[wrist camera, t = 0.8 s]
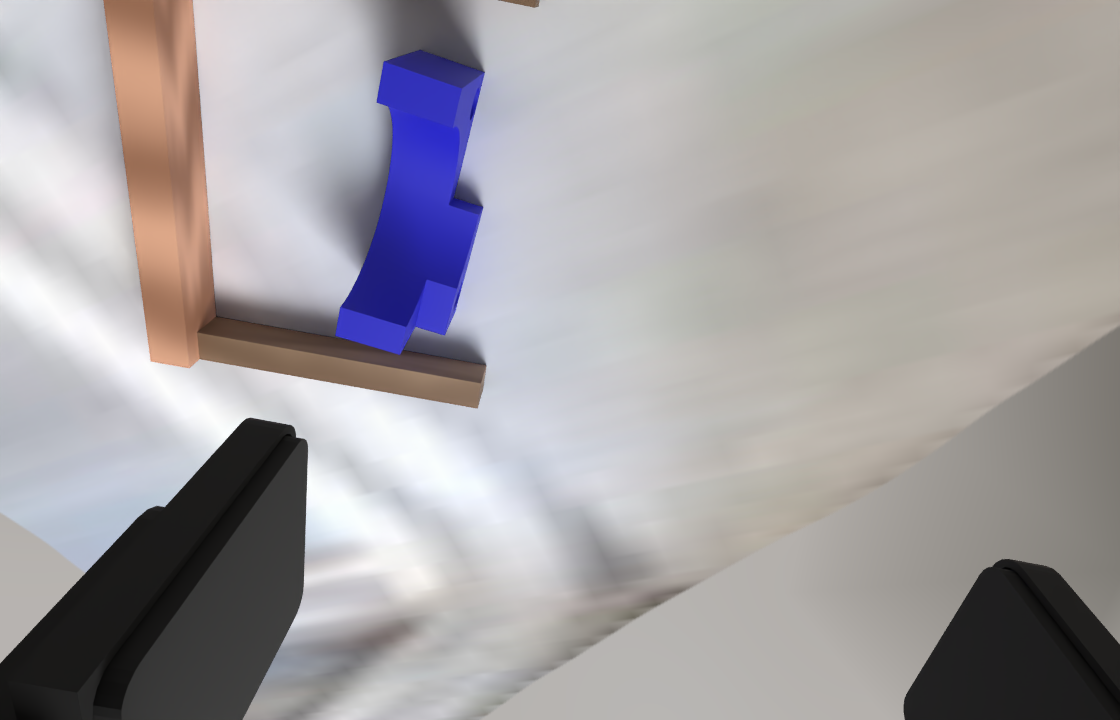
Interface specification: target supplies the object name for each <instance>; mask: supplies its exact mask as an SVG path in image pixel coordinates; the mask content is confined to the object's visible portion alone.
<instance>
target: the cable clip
mask: <svg viewBox="0 0 1120 720" xmlns="http://www.w3.org/2000/svg"><path fill="white" fill-rule="evenodd" d="M484 73H485V72H482V71H479V70H477V69H474V68H471V67H468V66H465V65H462V64H459V63H456V62H454V61H451V60H448V59H445V58H442V57H439V56H436V55H433V54H431V53H428V52H425V51H422V50H418V51H415V52H412V53H409V54H406V55H403V56H400V57H397V58H393V59H390V60H387V61H384V63H383V69H382V75H381V80H380V86H379V92H378V97H377V103H380V104H383V105H386V106H388V107H389V109H390V113H391V117H392V126H393V142H392V155H391V163H390V170H389V176H388V182H387V187H386V192H385V197H384V201H383V205H382V209H381V213H380V217H379V220H378V224H377V227H376V231H375V234H374V237H373V240H372V243H371V246H370V249H369V251H368V254H367V257H366V259H365V262H364V264H363V267H362V269H361V271H360V274H359V276H358V278H357V280H356V282H355V284H354V286H353V288H352V290H351V292H350V293H349V295H348V297H347V298H346V300H345V301H344V303H343V304H342V306H341V307H340V312H339V318H338V323H337V329H336V335H335V336H338V337H341V338H344V339H348V340H351V341H355V342H358V343H361V344H365V345H368V346H371V347H375V348H378V349H381V350H385V351H388V352H391V353H395V354H398V355H400V354H401V352H402V350H403V348H404V347H405V345H406V343H407V341H408V339H409V337H410V336H411V334H412V332H413V330H414V328H415V327H418V328H421V329H425V330H428V331H431V332H435V333H438V334H441V335H445V334H446V331H447V329H448V327H449V325H450V322H451V320H452V318H453V316H454V313H455V311H456V307H457V303H458V299H459V296H460V292H461V288H462V285H463V281H464V277H465V273H466V270H467V266H468V262H469V259H470V255H471V251H472V247H473V244H474V240H475V236H476V233H477V229H478V225H479V221H480V218H481V214H482V210H483V207H481V206H478V205H475V204H472V203H469V202H466V201H463V200H459V199H456V198H454V195H455V191H456V187H457V183H458V179H459V175H460V171H461V167H462V163H463V159H464V155H465V151H466V147H467V142H468V138H469V134H470V130H471V126H472V122H473V118H474V114H475V110H476V106H477V102H478V98H479V94H480V90H481V86H482V81H483V77H484Z"/></svg>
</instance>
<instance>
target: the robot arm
mask: <svg viewBox="0 0 1120 720" xmlns="http://www.w3.org/2000/svg"><path fill="white" fill-rule="evenodd" d="M307 462H308V444H307V441H306V440H305V439H301V438H296V432H295V429H294V427H293V426H291V425H287V424H281V423H276V422H271V421H265V420H260V419H255V418H247V419H245V420H244V421H243V422H242V423H241V424H240V425H239V426H238V427H237V428H236V429H235V431H234V432H233V433H232V434H231V435H230V436H229V437H228V438H227V439H226V440H225V442H224V443H223V444H222V445H221V446H220V447H219V448H218V449H217V450H216V451H215V453H214V454H213V455H212V456H211V457H210V458H209V459H208V460H207V461H206V462H205V464H204V465H203V466H202V467H201V468H200V469H199V470H198V471H197V472H196V474H195V475H194V476H193V477H192V478H191V479H190V480H189V481H188V482H187V483H186V485H185V486H184V487H183V488H182V489H181V490H180V491H179V492H178V493H177V494H176V496H175V497H174V498H173V499H172V500H171V501H170V502H169V503H168V504H167V505H166V507H160V506H155V507H153V508H150V509H148V510H146V511H145V512H144V513H143V514H142V515H141V516H139V517H138V518H137V519H136V520H135V521H134V522H133V523H132V524H131V526H130V527H129V528H128V529H127V530H126V531H125V532H124V533H123V534H122V535H121V536H120V537H119V538H118V539H117V540H116V541H115V542H114V544H113V545H112V546H111V547H110V548H109V549H108V550H107V551H106V552H105V553H104V554H103V555H102V556H101V557H100V558H99V559H98V560H97V562H96V563H95V564H94V565H93V566H92V567H91V568H90V569H89V570H88V571H87V572H86V573H85V574H84V575H83V576H82V578H81V579H80V580H79V581H78V582H77V583H76V584H75V585H74V586H73V587H72V588H71V589H70V590H69V591H68V592H67V594H65V595H64V597H63V598H62V599H61V600H60V601H59V602H58V603H57V604H56V605H55V606H54V607H53V608H52V609H51V610H50V611H49V612H48V613H47V615H46V616H45V617H44V618H43V619H42V620H41V621H40V622H39V623H38V624H37V625H36V626H35V627H34V628H33V629H32V630H31V631H30V633H29V634H28V635H27V636H26V637H25V638H24V639H23V640H22V641H21V642H20V643H19V644H18V645H17V646H16V648H14V649H13V651H12V652H11V653H10V654H9V655H8V656H7V657H6V658H5V659H4V660H3V661H2V662H1V663H0V720H242V719H243V717H244V716H245V714H246V712H247V710H248V708H249V706H250V704H251V702H252V700H253V698H254V696H255V694H256V692H257V690H258V688H259V686H260V684H261V683H262V681H263V679H264V677H265V675H266V673H267V671H268V669H269V667H270V665H271V663H272V661H273V659H274V657H275V655H276V653H277V651H278V649H279V648H280V646H281V644H282V642H283V640H284V638H285V636H286V634H287V632H288V630H289V628H290V626H291V624H292V622H293V620H294V618H295V616H296V614H297V612H298V609H299V606H300V603H301V599H302V594H303V587H304V557H305V525H306V493H307ZM904 717H905V720H1120V644H1119V643H1118V642H1117V641H1116V640H1115V638H1114V637H1113V636H1112V635H1111V634H1110V633H1109V631H1108V630H1107V629H1106V628H1105V627H1104V626H1103V624H1102V623H1101V622H1100V621H1099V620H1098V619H1097V617H1096V616H1095V615H1094V614H1093V613H1092V612H1091V610H1090V609H1089V608H1088V607H1087V606H1086V605H1085V604H1084V602H1083V601H1082V600H1081V599H1080V598H1079V596H1078V595H1077V594H1076V593H1075V592H1074V591H1073V589H1072V588H1071V587H1070V586H1069V585H1068V584H1067V582H1066V581H1065V580H1064V579H1063V578H1062V577H1061V575H1060V574H1059V573H1057V572H1056V571H1055V570H1054V569H1052V568H1049V567H1047V566H1043V565H1038V564H1032V563H1026V562H1022V561H1016V560H1010V559H1004V560H1003V559H1002V560H1000V561H998V562H996V563H995V564H994V565H993V567H988V568H986V569H985V570H983V572H982V573H981V574H980V575H979V577H978V579H977V580H976V582H975V583H974V585H973V587H972V588H971V590H970V592H969V593H968V595H967V596H966V598H965V600H964V601H963V603H962V605H961V606H960V608H959V609H958V611H957V613H956V614H955V616H954V618H953V619H952V621H951V622H950V624H949V626H948V627H947V629H946V631H945V632H944V634H943V635H942V637H941V639H940V640H939V642H938V644H937V645H936V647H935V648H934V650H933V652H932V653H931V655H930V657H929V658H928V660H927V661H926V663H925V665H924V666H923V668H922V670H921V671H920V673H919V674H918V676H917V678H916V679H915V681H914V683H913V684H912V686H911V688H910V689H909V691H908V693H907V694H906V697H905V700H904Z"/></svg>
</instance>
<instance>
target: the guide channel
mask: <svg viewBox="0 0 1120 720" xmlns="http://www.w3.org/2000/svg"><path fill="white" fill-rule="evenodd" d="M500 1H505V2H510V3H515V4H520V5H525V6H530V7H534V8H535V7H538V6H539V0H500ZM104 8H105V16H106V23H107V31H108V39H109V46H110V54H111V61H112V69H113V77H114V84H115V92H116V100H117V107H118V115H119V123H120V130H121V138H122V146H123V153H124V161H125V168H126V176H127V184H128V191H129V199H130V207H131V214H132V222H133V230H134V237H135V245H136V252H137V260H138V268H139V275H140V283H141V291H142V298H143V306H144V314H145V321H146V329H147V337H148V344H149V352H150V359H151V361H152V362H157V363H163V364H169V365H174V366H180V367H186V368H190V367H191V366H192V365H194V364H195V363H196V362H197V361H198V360H199V359H202V360H208V361H213V362H219V363H224V364H230V365H236V366H241V367H247V368H253V369H258V370H264V371H269V372H275V373H281V374H286V375H292V376H298V377H303V378H309V379H315V380H320V381H326V382H331V383H337V384H343V385H348V386H354V387H360V388H365V389H371V390H376V391H382V392H388V393H393V394H399V395H405V396H410V397H416V398H421V399H427V400H433V401H438V402H444V403H450V404H455V405H461V406H466V407H472V408H478V405H479V401H480V398H481V394H482V391H483V386H484V379H485V372H486V365H482V364H476V363H471V362H465V361H460V360H454V359H449V358H443V357H438V356H432V355H427V354H421V353H416V352H410V351H404V350H402V352H401V354H400V355H398V354H395V353H391V352H388V351H385V350H381V349H378V348H375V347H371V346H368V345H365V344H361V343H358V342H355V341H349V340H343V339H338V338H332V337H327V336H321V335H316V334H310V333H305V332H299V331H294V330H288V329H282V328H277V327H271V326H266V325H260V324H255V323H249V322H244V321H238V320H233V319H227V318H222V317H216V310H215V296H214V283H213V270H212V256H211V243H210V229H209V216H208V203H207V189H206V176H205V162H204V149H203V136H202V122H201V109H200V95H199V82H198V69H197V55H196V42H195V28H194V15H193V2H192V0H104Z"/></svg>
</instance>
